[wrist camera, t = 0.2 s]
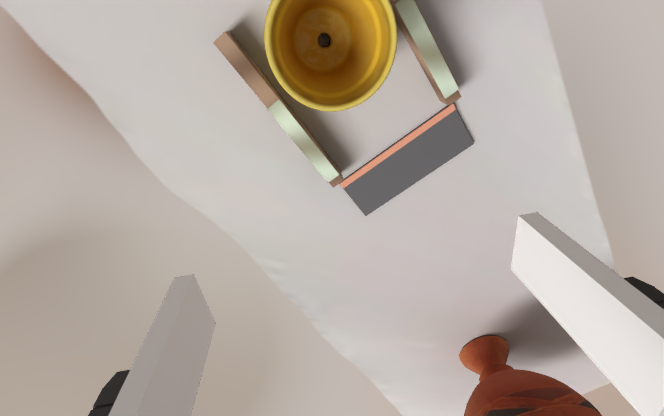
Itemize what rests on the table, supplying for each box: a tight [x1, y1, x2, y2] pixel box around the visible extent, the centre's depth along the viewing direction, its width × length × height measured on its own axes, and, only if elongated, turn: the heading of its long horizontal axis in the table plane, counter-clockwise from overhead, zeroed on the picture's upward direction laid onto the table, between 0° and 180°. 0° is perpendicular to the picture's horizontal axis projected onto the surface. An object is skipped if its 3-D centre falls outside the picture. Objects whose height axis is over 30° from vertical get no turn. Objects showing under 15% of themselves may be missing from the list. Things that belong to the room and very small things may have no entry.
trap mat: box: [339, 103, 474, 216], centre depth 41 cm, size 6×16×1 cm, turn 126°
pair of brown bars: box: [213, 0, 461, 187], centre depth 34 cm, size 19×17×3 cm
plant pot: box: [264, 0, 397, 111], centre depth 30 cm, size 10×10×10 cm
